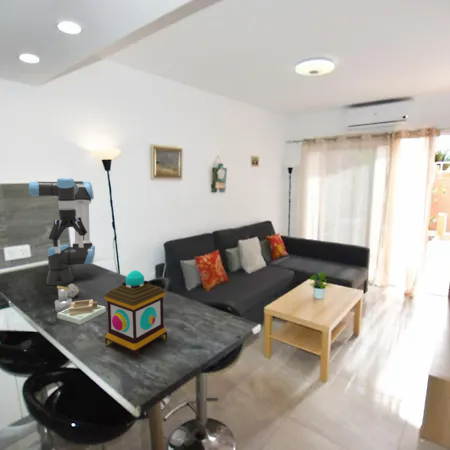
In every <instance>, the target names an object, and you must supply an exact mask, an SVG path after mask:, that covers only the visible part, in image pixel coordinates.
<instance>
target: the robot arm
mask: <svg viewBox="0 0 450 450" xmlns="http://www.w3.org/2000/svg"><path fill="white" fill-rule="evenodd" d="M28 193H29V195H30V196H31V197H52V198H55V199H57V200H58V202H57V203H58V208H59V210H58V215H59V219H54V220H53V225H52V229H51V231H50V234H49V236H48V240H52V242H53V246H51V247H50V248H49V247H48V249H47V260H48V261H47V263H48V273H47V277H46V284H47V285H48V286H62V285H67V284H70V282H71V283H72V282H73V281H75V280H74V279H75V277H74V274H73V272H72V270H71V266H76V265H79V266H80V265H89V264H92V263H93V262H94V259H95V253H96V246H95V245H93V242H92V241H91V239H90V234H91V233H90V232H91V231H90V204H92V200H94V199H95V198H94V189H93V186H92V184H91V182H90V181H84V180H82V181H81V180H80V181H79V180H76V181H75V179H73V178H70V177H67V178H65V177H61V178H60V177H59V178H57V179H56V181H37V180H36V181H30V182H29V183H28ZM67 228H73V229H74V242H73V243H72V244H71V245H72V246H70V245H69V244H67V243H65V244H61V241H60V240H59V239H60V237H61V236H62V234H63V232H64V230H66V229H67Z"/></svg>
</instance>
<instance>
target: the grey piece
mask: <svg viewBox="0 0 450 450" xmlns="http://www.w3.org/2000/svg"><path fill="white" fill-rule="evenodd" d="M56 288H57V294H58V295H57V296H58V298H57V299H56V300H55V301H54V308H55V312H57V313H59V312H61V311H63V310H66V309H68V308H70V306H71V302H73V299H72V298H71V297H68V293H67V290H68V288H67V286H62V285H56Z"/></svg>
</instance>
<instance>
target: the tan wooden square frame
mask: <svg viewBox="0 0 450 450" xmlns="http://www.w3.org/2000/svg"><path fill="white" fill-rule="evenodd" d="M97 305H98V301H96V300H95V301H94V299H92V298H91V299H83V300H74V301H73V300H72V302H71V306H70V309H69V311H70V316H71V315H78V314H86V313H92V311H93V309H97Z"/></svg>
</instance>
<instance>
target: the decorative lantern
mask: <svg viewBox="0 0 450 450" xmlns="http://www.w3.org/2000/svg"><path fill="white" fill-rule="evenodd" d="M165 295H166V290H164V289H163V288H162V287H160V286H157V285H153V284H152V283H149V281H148V280H146V279H145V276H144V274H143V273H142V272H141V271H139V270H135V269H134V270H132V271H130V272H129V273H128V274H127V275H126V277H125V281H124V282H122V284H120V285H119V286H117V287H116V288H112V289H110V290H109V291H108V292H106V294H104V296H103V297H104V299H105V300H106V302H107V321H108V322H107V323H108V331H107V333H106V335H105V338H104V341H105V345H106V346H110V344H111V343H114V344H116V345H118V346H120V347H122V348H124V349H126V350H129V351H130V352H131V353H132V357H133V358H134V359H137V357H138V352H139V351H140V350H141V349H143V348H144V347H146V346H148V345H149V344H151V343H152V342H155V341H157V339H159V338H161V337H162V338H163V340H166V339H168V330H167V329H166V327H165V325H164V297H165Z"/></svg>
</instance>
